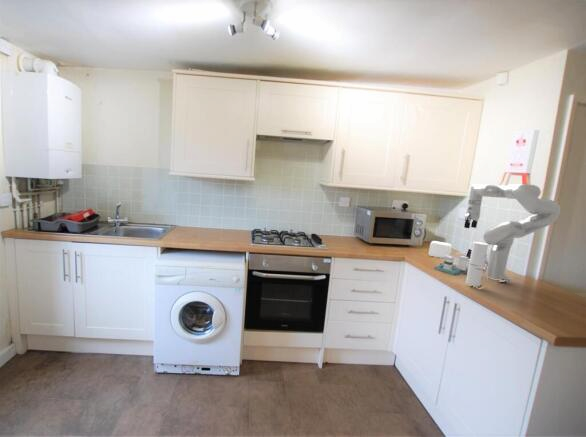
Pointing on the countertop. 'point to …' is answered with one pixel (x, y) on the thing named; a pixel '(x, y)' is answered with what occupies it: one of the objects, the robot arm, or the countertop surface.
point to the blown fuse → (448, 262)
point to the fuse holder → (458, 269)
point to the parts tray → (453, 272)
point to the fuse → (462, 262)
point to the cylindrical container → (476, 263)
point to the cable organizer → (440, 249)
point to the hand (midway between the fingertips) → (470, 227)
